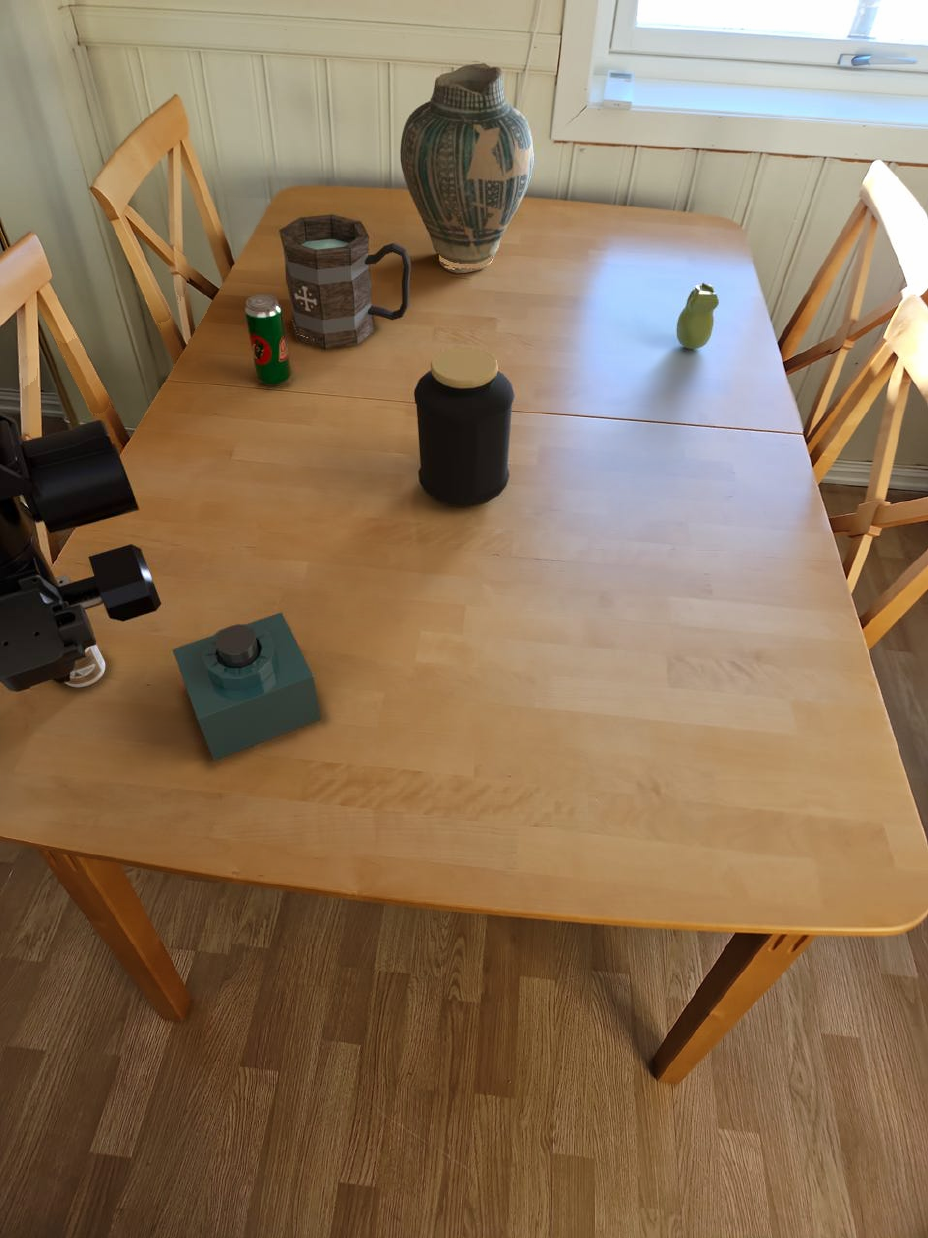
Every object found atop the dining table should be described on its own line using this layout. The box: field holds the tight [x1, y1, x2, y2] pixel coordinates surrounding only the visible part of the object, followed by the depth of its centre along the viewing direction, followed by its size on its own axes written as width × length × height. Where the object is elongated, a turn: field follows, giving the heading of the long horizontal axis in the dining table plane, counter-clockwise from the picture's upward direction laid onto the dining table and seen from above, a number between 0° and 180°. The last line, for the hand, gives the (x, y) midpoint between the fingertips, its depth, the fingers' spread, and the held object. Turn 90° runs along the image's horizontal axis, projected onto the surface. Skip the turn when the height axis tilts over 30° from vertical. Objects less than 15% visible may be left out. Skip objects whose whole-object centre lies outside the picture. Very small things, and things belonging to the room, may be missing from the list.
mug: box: [278, 213, 412, 350], centre depth 127 cm, size 20×14×15 cm
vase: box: [399, 62, 535, 274], centre depth 138 cm, size 22×22×30 cm
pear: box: [675, 282, 720, 350], centre depth 128 cm, size 6×5×10 cm
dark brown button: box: [216, 624, 259, 668], centre depth 76 cm, size 4×4×2 cm
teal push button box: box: [172, 611, 322, 762], centre depth 80 cm, size 11×9×9 cm
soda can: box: [244, 294, 292, 387], centre depth 118 cm, size 5×5×12 cm
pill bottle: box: [64, 644, 106, 688], centre depth 83 cm, size 4×4×8 cm
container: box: [413, 345, 515, 508], centre depth 100 cm, size 12×12×18 cm
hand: (64, 679), depth 69 cm, fingers closed
